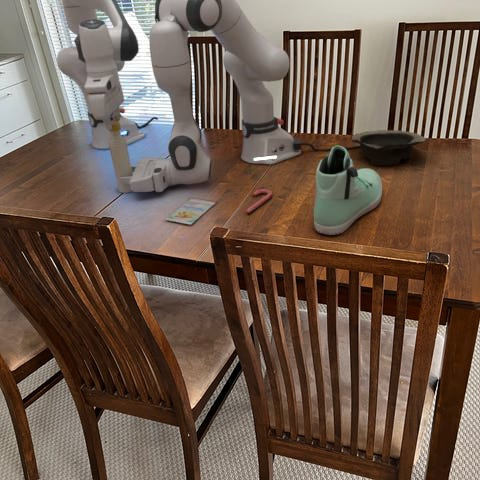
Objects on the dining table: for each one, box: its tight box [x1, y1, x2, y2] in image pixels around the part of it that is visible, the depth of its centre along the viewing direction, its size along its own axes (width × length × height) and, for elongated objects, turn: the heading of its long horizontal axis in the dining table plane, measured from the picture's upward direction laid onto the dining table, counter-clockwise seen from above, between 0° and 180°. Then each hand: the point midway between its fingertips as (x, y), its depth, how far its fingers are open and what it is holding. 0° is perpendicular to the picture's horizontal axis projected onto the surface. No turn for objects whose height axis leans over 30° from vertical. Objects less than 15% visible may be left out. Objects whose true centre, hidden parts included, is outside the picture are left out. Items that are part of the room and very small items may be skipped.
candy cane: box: [245, 188, 273, 215], centre depth 146 cm, size 6×15×2 cm, turn 145°
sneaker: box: [313, 145, 383, 236], centre depth 133 cm, size 14×35×20 cm, turn 152°
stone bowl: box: [351, 129, 427, 166], centre depth 167 cm, size 25×25×9 cm
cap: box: [108, 121, 121, 132], centre depth 150 cm, size 4×4×2 cm
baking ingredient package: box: [164, 198, 216, 226], centre depth 144 cm, size 9×1×15 cm
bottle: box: [109, 131, 134, 194], centre depth 156 cm, size 6×6×22 cm
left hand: (113, 125), depth 150 cm, fingers open, 6 cm apart
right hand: (121, 175), depth 159 cm, fingers closed on bottle, 5 cm apart
